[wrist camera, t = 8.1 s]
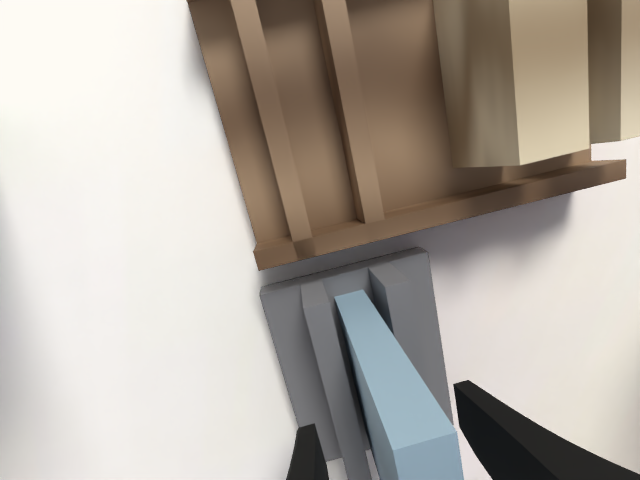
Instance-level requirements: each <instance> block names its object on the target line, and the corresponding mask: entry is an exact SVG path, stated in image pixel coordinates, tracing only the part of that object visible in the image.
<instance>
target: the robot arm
mask: <svg viewBox="0 0 640 480" xmlns="http://www.w3.org/2000/svg"><path fill="white" fill-rule="evenodd" d="M453 385H454V392H455V399H456V406H457V413H458V420H459V426H460V428H461V430H462V432H463V434H464V436H465V437H466V439H467V441H468V443H469V445H470V446H471V448H472V450H473V451H474V453H475V455H476V456H477V458H478V459H479V461H480V462H481V464H482V465H483V466H484V468H485V469H486V471H487V472H488V474H489V475H490V476H491V478H492V479H493V480H640V474H638V473H635V472H633V471H631V470H628V469H626V468H624V467H621V466H619V465H617V464H614V463H612V462H610V461H608V460H606V459H603V458H601V457H599V456H597V455H595V454H593V453H591V452H589V451H587V450H585V449H583V448H581V447H579V446H577V445H575V444H573V443H571V442H569V441H567V440H565V439H563V438H561V437H560V436H558V435H556V434H554V433H552V432H551V431H549V430H547V429H545V428H543V427H542V426H540V425H538V424H537V423H535V422H533V421H531V420H530V419H528V418H527V417H525V416H523V415H522V414H520V413H518V412H517V411H515V410H514V409H512V408H510V407H509V406H507V405H506V404H504V403H503V402H501V401H500V400H498V399H497V398H495V397H493V396H492V395H490V394H489V393H487V392H486V391H484V390H483V389H481V388H480V387H478V386H477V385H475V384H474V383H472V382H471V381H469V380H466V381H463V382H459V383H456V384H453ZM286 480H329V477H328V471H327V465H326V461H325V458H324V454H323V451H322V447H321V444H320V440H319V437H318V433H317V430H316V426H315V423H314V424H310V425H306V426H303V427H299V428H298V430H297V434H296V440H295V446H294V450H293V455H292V459H291V463H290V467H289V471H288V475H287V478H286Z"/></svg>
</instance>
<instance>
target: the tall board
mask: <svg viewBox="0 0 640 480" xmlns="http://www.w3.org/2000/svg"><path fill="white" fill-rule="evenodd" d="M334 298H335V302H336V306H337V311H338V315H339V319H340V324H341V328H342V332H343V336H344V341H345V345H346V349H347V353H348V358H349V362H350V366H351V371H352V375H353V379H354V383H355V388H356V392H357V396H358V400H359V405H360V409H361V413H362V418H363V422H364V426H365V430H366V434H367V438H368V441H369V444H370V448H371V451H372V454H373V458H374V461H375V464H376V467H377V471H378V474H379V477H380V480H464V477H463V470H462V463H461V457H460V450H459V443H458V436H457V431H456V430H455V428H454V427H453V425H452V424H451V422H450V421H449V419H448V418H447V416H446V415H445V413H444V411H443V410H442V408H441V407H440V405H439V404H438V402H437V401H436V399H435V398H434V396H433V395H432V393H431V392H430V390H429V389H428V387H427V386H426V384H425V383H424V381H423V380H422V378H421V377H420V375H419V373H418V372H417V370H416V369H415V367H414V366H413V364H412V363H411V361H410V360H409V358H408V357H407V355H406V354H405V352H404V351H403V349H402V348H401V346H400V345H399V343H398V342H397V340H396V339H395V337H394V335H393V334H392V332H391V331H390V329H389V328H388V326H387V325H386V323H385V322H384V320H383V319H382V317H381V316H380V314H379V313H378V311H377V310H376V308H375V307H374V305H373V304H372V302H371V301H370V299H369V297H368V296H367V294H366V293H365V291H364V290H359V291H355V292H351V293H348V294H344V295H340V296H336V297H334Z"/></svg>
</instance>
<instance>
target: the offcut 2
mask: <svg viewBox="0 0 640 480" xmlns="http://www.w3.org/2000/svg"><path fill="white" fill-rule="evenodd" d="M587 25H588V88H589V144H595V143H605V142H615V141H622V140H626V139H630V138H635V137H639V136H640V0H587Z"/></svg>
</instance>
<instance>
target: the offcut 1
mask: <svg viewBox="0 0 640 480" xmlns="http://www.w3.org/2000/svg"><path fill="white" fill-rule="evenodd" d="M433 6H434V14H435V23H436V31H437V39H438V48H439V56H440V64H441V73H442V81H443V89H444V97H445V106H446V114H447V122H448V131H449V139H450V147H451V155H452V164H453V168H466V167H492V166H519V165H524V164H528V163H532V162H536V161H540V160H544V159H549V158H553V157H557V156H561V155H565V154H569V153H573V152H577V151H581V150H585V149H589V88H588V25H587V0H433Z"/></svg>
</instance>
